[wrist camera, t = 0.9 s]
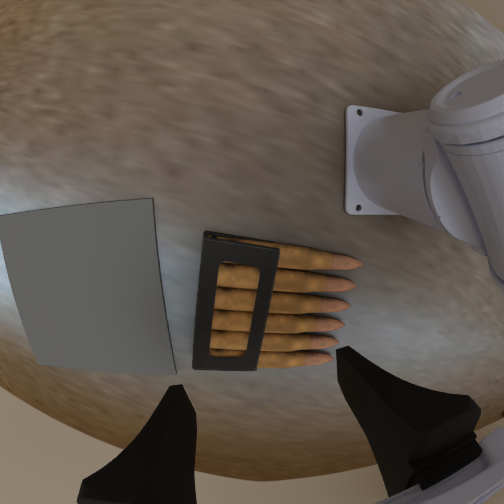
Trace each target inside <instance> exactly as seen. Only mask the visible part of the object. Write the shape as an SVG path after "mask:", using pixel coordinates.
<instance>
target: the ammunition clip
mask: <svg viewBox="0 0 504 504" xmlns="http://www.w3.org/2000/svg"><path fill="white" fill-rule="evenodd" d="M235 263H236V264H235ZM361 266H362V263H361V262H360V261H358V260H356V259H354V258H351V257H348V256H344V255H340V254H334V253H330V252H324V251H319V250H316V249H313V248H309V247H301V246H293V245H285V244H277V243H275V242H270V241H264V240H258V239H253V238H247V237H241V236H234V235H228V234H222V233H216V232H210V231H205V232H204V236H203V245H202V254H201V264H200V273H199V284H198V294H197V305H196V317H195V330H194V344H193V360H192V368H193V369H195V370H218V371H256V370H257V368H289V367H294V366H307V365H318V364H323V363H326V362H329V361H331V360H333V357H332V356H330V355H326V354H322V353H316V352H302V351H296V350H308V349H322V348H328V347H331V346H334V345H336V344H338V343H339V341H338V340H336V339H334V338H330V337H326V336H319V335H307V334H298V333H301V332H313V331H331V330H335V329H339V328H341V327H343V326H345V324H344V323H343V322H341V321H338V320H335V319H331V318H325V317H314V316H305V315H301V314H304V313H318V312H338V311H342V310H346V309H348V308H350V307H351V305H350V304H348V303H346V302H344V301H341V300H338V299H333V298H326V297H318V296H310V295H306V294H303V293H307V292H324V291H325V292H339V291H346V290H351V289H353V288H355V287H356V286H357V285H356V284H355V283H353V282H351V281H349V280H346V279H343V278H338V277H333V276H325V275H320V274H314V273H311V272H308V271H302V270H316V269H325V270H328V269H332V270H349V269H355V268H358V267H361ZM277 267H278V268H277ZM282 268H289V269H282ZM292 269H300V270H292ZM295 292H297V293H295Z"/></svg>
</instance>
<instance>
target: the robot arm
mask: <svg viewBox="0 0 504 504" xmlns="http://www.w3.org/2000/svg"><path fill="white" fill-rule="evenodd" d="M357 110H359V111H360V112H361V115H360V116H359V115H358V114H357ZM345 115H346V178H345V211H346V212H347V213H348V214H351V215H402V216H405V217H407V218H410V219H412V220H415V221H417V222H420V223H422V224H425V225H427V226H430V227H432V228H434V229H437V230H439V231H441V232H444V233H446V234H448V235H451V236H453V237H455V238H457V239H459V240H462V241H464V242H467V243H469V244H470V246H471V248H472V250H474V251H477V252H479V253H481V254H483V255H485V256H487V255H488V256H487V258H488V263H489V269H490V272H491V276H492V278H493V280H494V281H495V283H496V284H497V285H498V287H499V288H500V289H501V290H502V291H503V292H504V60H498V61H494V62H491V63H487V64H484V65H482V66H479V67H477V68H474V69H472V70H470V71H468V72H466V73H464V74H462V75H460V76H459V77H457V78H455V79H454V80H452V81H451V82H449V83H448V84H447V85H445V86H444V87H443V88H442V89H441V90H440V91H439V92H438V93H437V94H436V95H435V96H434V97H433V99H432V101H431V103H430V107H429V109H426V110H419V111H413V112H407V113H400V112H394V111H389V110H383V109H377V108H370V107H363V106H356V105H350V106H348V107H347V108H346V111H345ZM357 205H359V206H360V208H359V210H357V211H356V209H355V208H356V206H357ZM336 359H337V377H338V383H339V385H340V388H341V390H342V393H343V395H344V397H345V399H346V401H347V403H348V405H349V406H350V408H351V410H352V412H353V413H354V415H355V417H356V419H357V420H358V422H359V424H360V426H361V427H362V429H363V431H364V433H365V435H366V437H367V439H368V441H369V444H370V446H371V448H372V451H373V453H374V456H375V459H376V461H377V464H378V466H379V469H380V472H381V475H382V478H383V481H384V483H385V487H386V490H387V493H388V496H389V498H386V499H384V500H382V501H379V502H377V503H374V504H482V503H483V502H485V501H486V500H487V499H489V498H490V497H491V496H492V495H494V494H495V493H496V492H497V491H499V490H500V489H501V488H502V487H504V429H503V427H502V426H500V427H498V428H497V429H495V430H494V431H493V432H491V433H490V434H489V435H487V436H486V437H485V438H483V439H482V440H481V441H480V442H479V443H477V442H476V440H475V439H476V437H477V436H476V434H475V433H474V432H473V430H474V428H475V426H476V424H477V422H478V420H479V417H480V415H481V409H480V407H479V406H478V405H477V404H476V403H475V402H474V400H473V399H472V398H470V397H469V396H468V395H459V394H450V393H444V392H439V391H434V390H430V389H427V388H424V387H420V386H417V385H414V384H412V383H409V382H407V381H405V380H402V379H400V378H398V377H396V376H394V375H392V374H390V373H388V372H387V371H385V370H383V369H382V368H380V367H378V366H377V365H375V364H374V363H372V362H371V361H369V360H368V359H366V358H365V357H363V356H362V355H361V354H359V353H358V352H356V351H355V350H354V349H352V348H351V347H349V346H346V347H343V348H340V349H336ZM196 438H197V422H196V412H195V410H194V408H193V406H192V404H191V402H190V400H189V398H188V396H187V394H186V391H185V389H184V387H183V385H182V384H180V385H173V386H170V387H169V388H168V390H167V391H166V393H165V395H164V396H163V398H162V400H161V401H160V403H159V405H158V406H157V408H156V409H155V411H154V413H153V414H152V416H151V417H150V419H149V420H148V422H147V423H146V424H145V426H144V427H143V429H142V430H141V431H140V433H139V434H138V435H137V436H136V438H135V439H134V440H133V441H132V442H131V443H130V444H129V445H128V446H127V447H126V448H125V449H124V450H123V451H122V452H121V453H120V454H119V455H118V456H117V457H116V458H114V459H113V460H112V461H111V462H109V463H108V464H107V465H106V466H104V467H103V468H101V469H100V470H98V471H97V472H95V473H94V474H92V475H90V476H88V477H87V478H85V479H83V481H82V484H81V487H80V491H79V494H78V498H77V503H78V504H197V501H196V492H195V478H194V467H195V453H196Z"/></svg>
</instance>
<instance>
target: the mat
mask: <svg viewBox="0 0 504 504" xmlns="http://www.w3.org/2000/svg"><path fill="white" fill-rule="evenodd" d="M0 240H1V245H2V250H3V255H4V260H5V264H6V269H7V273H8V277H9V281H10V284H11V288H12V292H13V295H14V298H15V302H16V305H17V308H18V311H19V314H20V317H21V320H22V323H23V326H24V329H25V332H26V334H27V337H28V340H29V342H30V345H31V347H32V350H33V352H34V355H35V357H36V360H37V362H38V364H42V365H48V366H55V367H63V368H71V369H80V370H90V371H101V372H114V373H130V374H156V375H176V374H177V372H176V367H175V362H174V357H173V351H172V346H171V340H170V335H169V329H168V323H167V316H166V310H165V303H164V296H163V289H162V282H161V274H160V266H159V257H158V248H157V238H156V228H155V216H154V203H153V198H146V199H133V200H122V201H111V202H100V203H90V204H81V205H72V206H64V207H56V208H48V209H41V210H33V211H26V212H20V213H13V214H7V215H1V216H0Z"/></svg>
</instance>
